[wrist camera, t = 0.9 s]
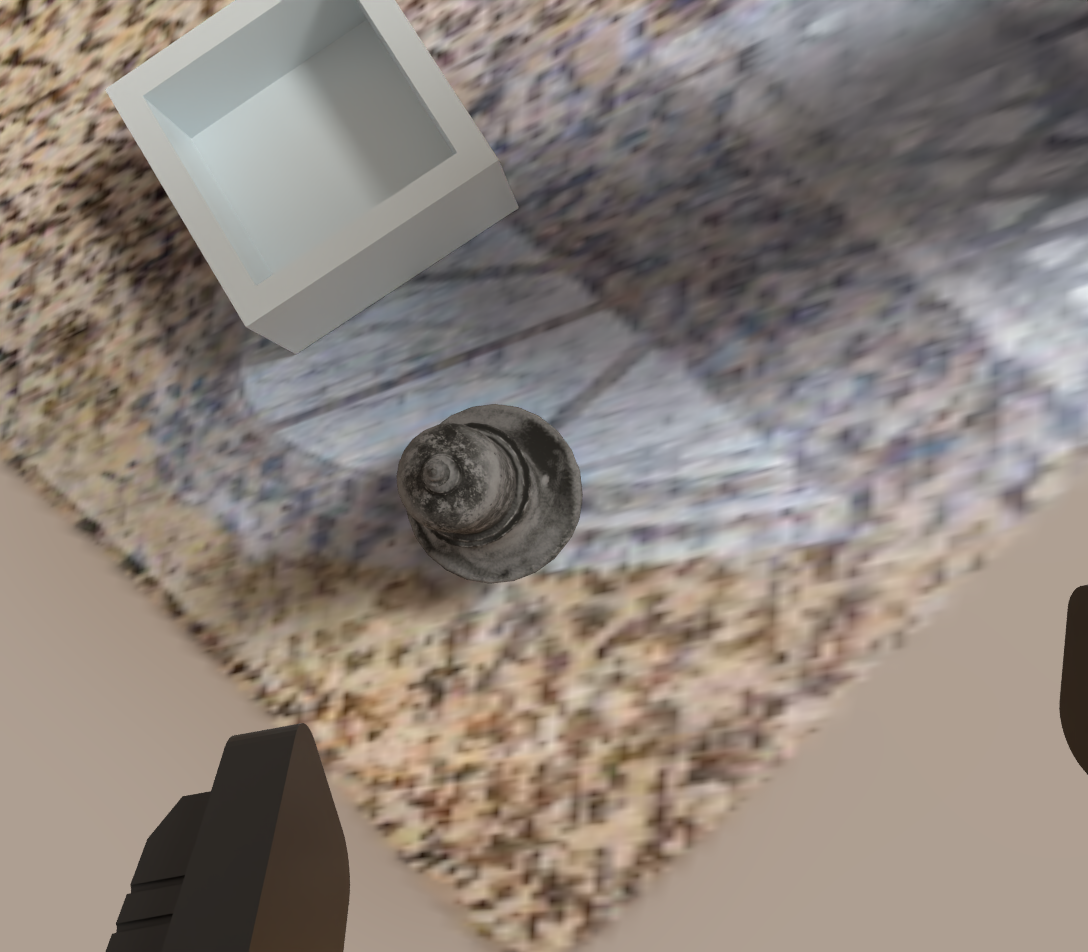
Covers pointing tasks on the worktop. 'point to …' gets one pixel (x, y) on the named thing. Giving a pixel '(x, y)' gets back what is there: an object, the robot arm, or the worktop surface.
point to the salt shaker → (491, 492)
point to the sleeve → (312, 157)
